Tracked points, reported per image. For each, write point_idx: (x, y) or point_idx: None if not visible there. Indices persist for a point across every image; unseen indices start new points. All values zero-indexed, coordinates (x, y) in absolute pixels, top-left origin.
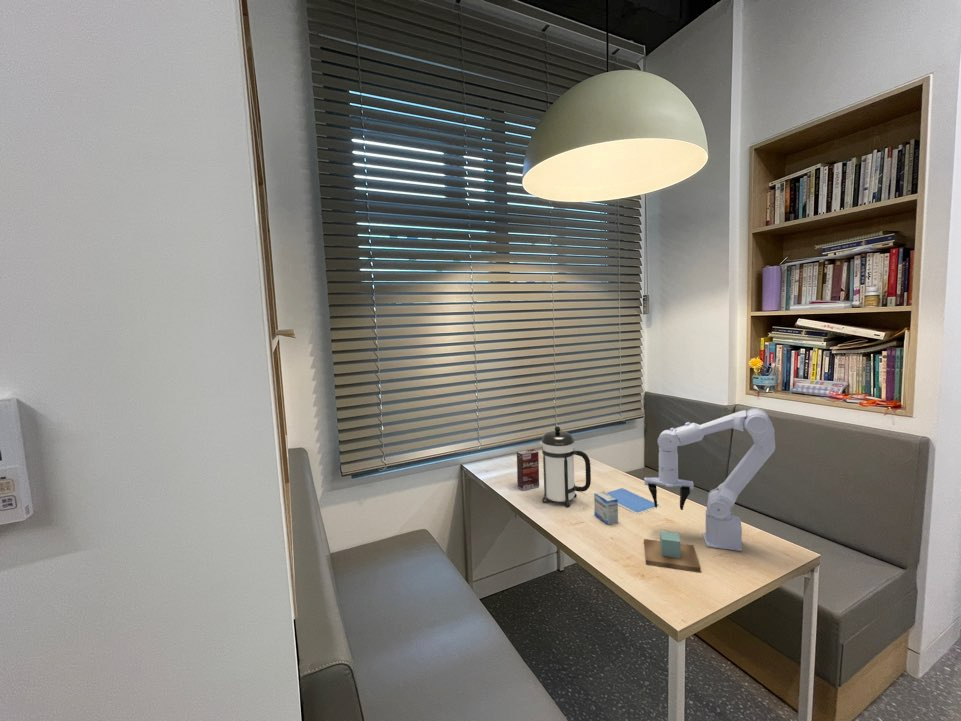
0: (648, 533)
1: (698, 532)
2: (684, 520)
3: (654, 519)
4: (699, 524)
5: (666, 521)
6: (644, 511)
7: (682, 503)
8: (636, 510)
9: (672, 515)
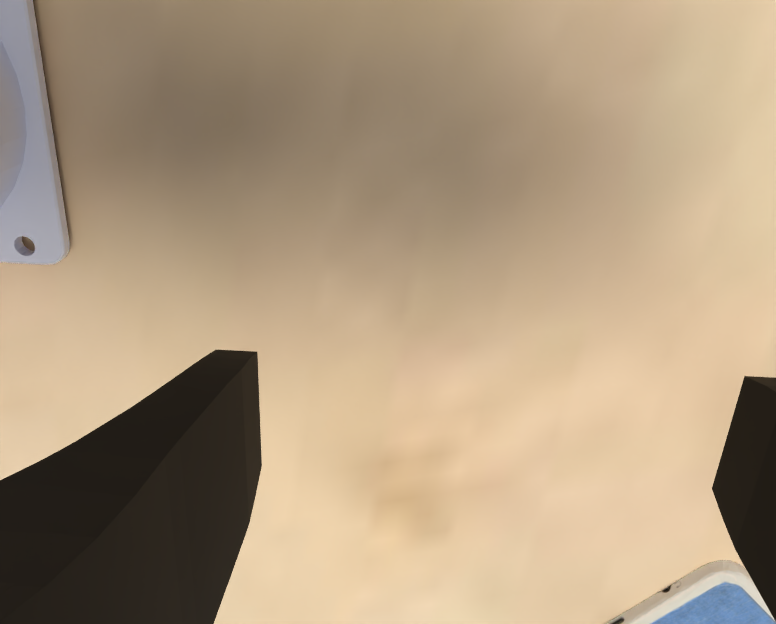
0: (727, 145)
1: (113, 293)
2: None
3: (559, 490)
4: None
5: (435, 470)
6: (634, 618)
7: (169, 413)
8: (723, 621)
9: (350, 594)
